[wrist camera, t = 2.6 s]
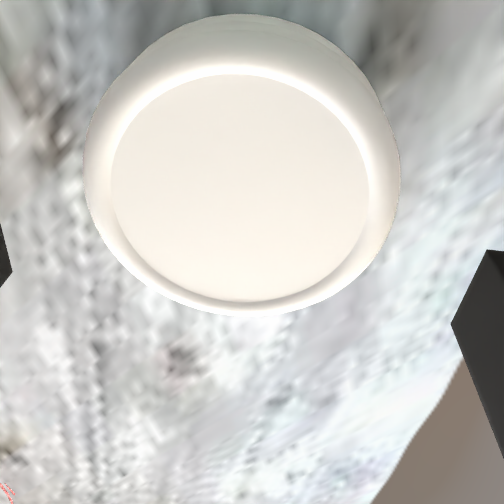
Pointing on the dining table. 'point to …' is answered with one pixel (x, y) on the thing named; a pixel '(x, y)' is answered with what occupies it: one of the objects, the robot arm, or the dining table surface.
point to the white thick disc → (242, 167)
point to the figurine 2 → (7, 492)
